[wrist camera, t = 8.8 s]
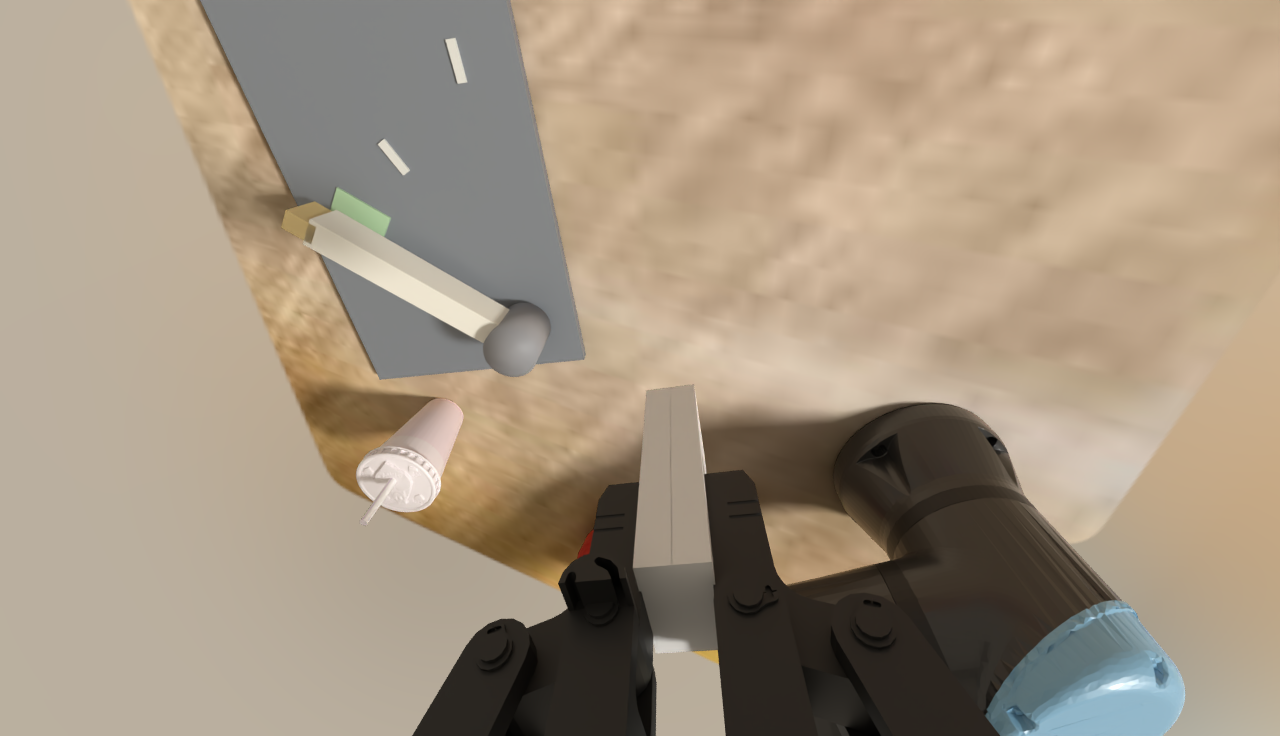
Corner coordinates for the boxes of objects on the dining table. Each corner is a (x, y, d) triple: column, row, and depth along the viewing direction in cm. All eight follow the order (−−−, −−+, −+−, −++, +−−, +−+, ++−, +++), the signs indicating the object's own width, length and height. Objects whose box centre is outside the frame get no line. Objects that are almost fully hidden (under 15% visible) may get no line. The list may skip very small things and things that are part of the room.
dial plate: (585, 354, 42) (583, 360, 41) (385, 374, 44) (378, 380, 42) (497, -57, 28) (491, -63, 27) (211, -3, 30) (194, -6, 29)
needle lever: (559, 319, 38) (546, 347, 34) (537, 354, 40) (522, 385, 36) (328, 182, 34) (279, 195, 29) (314, 229, 35) (266, 247, 31)
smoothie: (468, 385, 44) (395, 494, 32) (483, 439, 47) (422, 557, 35) (402, 387, 44) (305, 495, 32) (421, 440, 47) (339, 558, 35)
